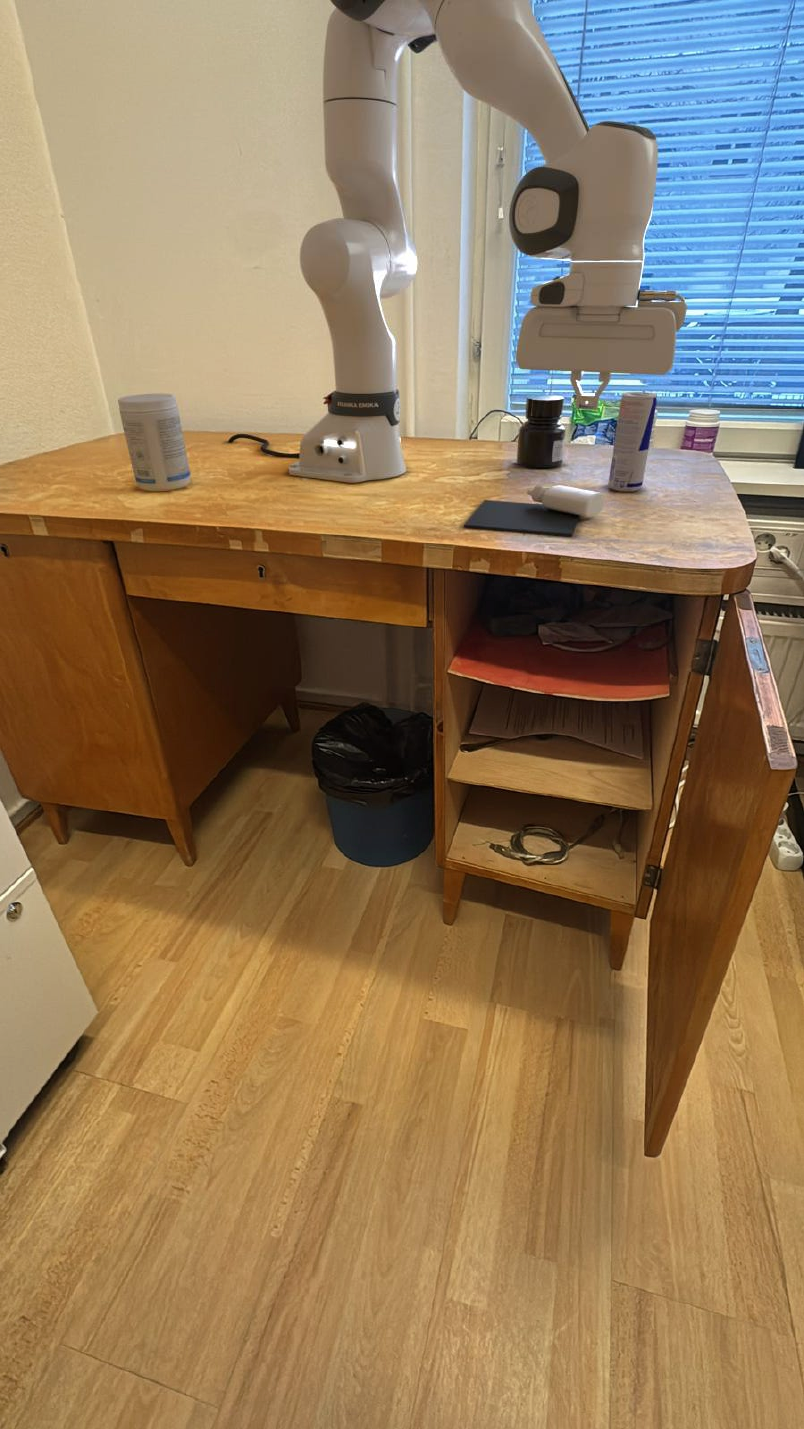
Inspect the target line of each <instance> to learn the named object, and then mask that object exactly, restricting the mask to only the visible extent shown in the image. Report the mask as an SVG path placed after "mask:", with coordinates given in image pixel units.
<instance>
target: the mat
mask: <svg viewBox="0 0 804 1429" xmlns="http://www.w3.org/2000/svg"><path fill="white" fill-rule="evenodd" d="M580 517H581V516H579V515H575V514H570V513H565V512H560V511H556V510H551V509H547V508H545V507H544V506H543V504H542V503H529V502H516V501H515V502H514V501H501V500H489V499H484V500H483V502H482V503H480V505H479V506H478V508H477V509H476V510H475V511H474V512H473V514H471V516H470V517H469V518H468V519H467V521H466V522H465V523H464V524H463V528H467V529H479V530H490V531H501V532H502V531H503V532H513V533H514V532H515V533H525V534H537V535H549V536H559V537H561V536H562V537H570V538H571V537H573V535H574V532H575V530H576V527H577V524H578V522H579V519H580Z"/></svg>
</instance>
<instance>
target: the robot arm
mask: <svg viewBox="0 0 804 1429" xmlns="http://www.w3.org/2000/svg"><path fill="white" fill-rule="evenodd" d="M330 2H331V3H332V5H333V6H335V8H334V9H333V11H332V12H331V14H330V16H329V18H328V21H327V26H326V32H325V42H324V53H323V68H322V70H323V71H322V109H323V110H322V111H323V140H324V141H323V142H324V144H323V145H324V167H325V172H326V174H327V177H328V178H329V180H330V182H331V183H332V185H333V187H334V190H335V191H336V194H337V197H338V200H339V203H340V207H341V212H342V217H337V218H331V219H327V220H325V221H322V222H320V223H317V224H315V225H313V226H312V227H310V228H309V229H308V231H307V232H306V233H305V235H304V237H303V239H302V241H301V245H300V248H299V249H300V250H299V265H300V270H301V271H300V272H301V274H302V277H303V279H304V282H305V283H306V284H307V286H308V287H309V288H310V290H311V291H312V292H313V293H314V294H315V296H316V298H317V299H318V302H319V304H320V306H321V309H322V311H323V316H324V318H325V321H326V324H327V327H328V328H327V329H328V332H329V335H330V341H331V346H332V359H333V368H334V369H333V370H334V381H335V382H334V383H335V390H334V391H332V392H330V393H329V394H328V395H327V396H324V397H323V398H322V400H324V402H323V405H326V406H327V413H326V414H325V415H323V417H322V418H320V420H319V421H317V422H316V423H315V424H314V425H313V426H312V427H311V428H310V429H309V430H308V431H307V432H305V433H304V435H303V436H302V438H301V440H300V444H299V452H296V453H289V452H287V453H286V452H280V451H279V452H278V451H275V450H271V449H268V447H269V445H270V442H269V440H268V439H266V438H265V439H264V438H261V437H259V436H255V435H252V434H247V433H237V434H236V433H235V434H234V435H232V436H231V437H229V439H228V441H227V443H228V444H232V443H234V441H236V440H238V439H248V440H252V441H255V442H258V443H261V444H262V445H261V446H260V451H261V453H263V454H266V455H270V456H274V457H277V458H289V459H298V460H296V461H294V462H293V463H291V464H290V465H289V467H288V474H289V475H290V476H295V477H296V476H297V477H302V478H303V477H304V478H310V479H311V478H312V479H317V480H318V479H319V480H328V481H334V482H343V483H349V484H350V483H351V484H353V483H354V484H356V483H361V482H366V481H373V480H383V479H389V478H390V479H391V478H395V477H398V476H401V475H403V474H405V473H406V472H407V470H408V468H407V466H406V461H405V458H404V454H403V447H402V443H401V441H402V440H401V436H400V425H399V424H400V421H401V398H400V390H399V389H398V376H397V375H398V374H397V373H398V372H397V370H398V369H397V366H398V365H397V362H398V361H397V342H396V338H395V336H394V335H393V333H392V332H391V331H390V329H389V327H388V325H387V322H386V319H385V318H386V317H385V314H384V310H383V306H382V302H381V300H386V299H390V298H392V297H395V296H396V295H398V294H400V293H402V292H403V291H405V290H406V289H408V287H410V285H411V284H412V282H413V281H414V279H415V276H416V273H417V269H418V254H417V249H416V246H415V244H414V242H413V240H412V239H411V237H410V234H409V233H408V230H407V229H408V228H407V226H406V220H405V216H404V210H403V204H402V198H401V193H400V186H399V179H398V178H399V176H398V135H397V134H398V67H399V62H400V59H401V56H402V54H403V52H404V50H405V49H406V48H407V46H408V48H409V49H410V51H412V52H413V53H415V54H421V53H422V52H424V51H425V50H426V49H428V47H430V46H431V45H432V44H434V43H438V46H439V48H440V52H441V54H442V56H443V59H444V61H445V63H446V65H447V68H448V69H449V71H450V72H451V74H452V75H453V77H454V78H455V80H456V81H457V83H458V84H459V86H460V87H461V89H462V90H464V92H465V93H467V94H468V95H469V96H471V97H472V98H474V99H475V100H478V101H479V102H481V103H484V104H486V105H488V106H490V107H492V108H493V109H495V110H497V111H499V112H500V113H501V112H502V113H503V114H505V115H506V116H508V117H510V118H511V119H513V120H515V122H516V123H518V124H519V125H521V126H522V127H523V128H524V129H525V130H526V131H527V132H528V133H529V135H530V136H531V137H532V139H533V141H534V142H535V144H536V145H537V147H538V149H539V152H540V153H541V156H542V157H543V160H544V162H545V164H543V165H541V166H537V167H533V168H532V169H530V170H529V171H527V172H526V174H525V175H524V176H523V177H522V178H521V179H520V180H519V183H518V184H517V186H516V188H515V189H514V192H513V195H512V197H511V201H510V205H509V212H508V226H509V227H508V228H509V231H510V237H511V239H512V241H513V244H514V246H515V247H516V249H517V250H518V251H519V252H520V253H522V254H524V255H525V256H529V257H531V258H534V259H540V260H541V259H543V260H555V261H570V262H569V272H568V273H567V274H566V275H564V276H556V277H554V278H553V279H552V280H549V281H547V282H546V281H545V282H543V283H541V284H538V285H536V286H533V288H532V289H531V291H530V296H529V297H530V304H531V305H532V306H533V307H532V308H530V309H529V310H527V312H526V313H525V314H524V316H523V318H522V322H521V325H520V328H519V334H518V339H517V345H516V351H515V352H516V353H515V363H516V364H517V366H518V368H519V370H529V371H530V370H531V371H553V372H554V371H556V372H570V379H569V380H570V384H571V386H572V389H573V392H574V394H575V395H576V398H575V405H574V406H575V407H574V409H576V410H590V411H592V410H593V411H597V410H598V408H599V402H600V397H601V395H602V393H604V391H605V389H606V388H607V386H608V385H609V384H610V382H611V379H612V374H627V375H649V376H653V375H654V376H665V375H667V374H668V373H669V372H670V371H671V370H672V369H673V367H674V361H675V354H676V345H677V344H676V343H677V333H678V332H679V331H680V330H681V328H682V327H683V326H684V323H685V319H686V314H687V310H688V304H687V301H686V299H685V298H684V297H683V296H682V295H681V294H677V293H678V292H677V291H676V290H669V289H668V290H665V291H660V290H655V289H654V290H652V289H650V290H649V289H640V287H641V281H642V275H643V269H644V262H645V250H644V249H645V248H644V244H645V236H646V232H647V229H648V227H649V224H650V222H651V218H652V214H653V209H654V208H653V207H654V202H655V201H654V200H655V194H656V185H657V177H658V176H657V175H658V165H659V164H658V162H659V147H658V140H657V137H656V135H655V134H654V132H653V131H651V129H649V128H648V127H644V126H642V125H641V126H640V125H636V124H630V123H626V122H620V121H613V120H612V121H611V120H605V121H599V122H597V123H595V124H593V125H592V126H591V127H589V124H588V122H587V120H586V118H585V115H584V113H583V111H582V109H581V107H580V105H579V103H578V101H577V99H576V96H575V94H574V93H573V92H574V91H573V90H572V88H571V86H570V84H569V82H568V80H567V78H566V76H565V75H564V73H563V71H562V69H561V68H560V65H559V64H558V61H557V59H556V58H555V55H554V54H553V52H552V50H551V48H550V45H549V44H548V41H547V40H546V38H545V36H544V33H543V32H542V30H541V29H540V25H539V24H538V21H537V19H536V17H535V15H534V12H533V10H532V7H531V5H530V2H529V0H330ZM676 299H678V300H680V301H678V300H677V301H676ZM584 373H598V382H599V383H601V384H600V386H599V387H598V388H597V391H595V393H584V392H583V389H582V387H581V383H580V381H582V380H583V376H584Z"/></svg>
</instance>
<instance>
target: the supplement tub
mask: <svg viewBox="0 0 804 1429" xmlns="http://www.w3.org/2000/svg"><path fill="white" fill-rule="evenodd" d="M117 403H118V410H119V415H120V419H121V420H120V421H121V425H122V428H123V432H124V436H125V441H126V445H127V446H126V447H127V450H128V454H129V458H130V462H131V463H130V464H131V467H132V471H133V476H134V480H135V484H136V486H137V488H139V489H140V490H142V491H147V492H171V491H174V490H179V489H183V488H185V487H187V486H188V485H189V484H190V483H191V481H192V475H191V470H190V464H189V459H188V455H187V449H186V444H185V438H184V433H183V429H182V421H181V418H180V413H179V408H178V404H177V401H176V397H175V395H174V394H171V393H142V394H133V395H126V396H123V397H119V398H118V400H117Z"/></svg>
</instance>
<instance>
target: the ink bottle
mask: <svg viewBox="0 0 804 1429" xmlns="http://www.w3.org/2000/svg"><path fill="white" fill-rule="evenodd" d="M564 399H565V397H563V396H561V395H554V394H533V395H528V396H527V397H526V401H525V402H526V403H525V419H526V421H525V422H524V423H523V424H521V426H520V427H519V428H518V438H517V448H516V450H517V453H516V464H518V465H520V466H522V467H526V468H532V469H533V468H535V469H547V468H549V469H551V468H556V467H560V466H561V465H562V464H563V458H564V450H565V443H566V442H565V441H566V427H565V426H564V425H562V422H560V420H562V415H563V409H564Z"/></svg>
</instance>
